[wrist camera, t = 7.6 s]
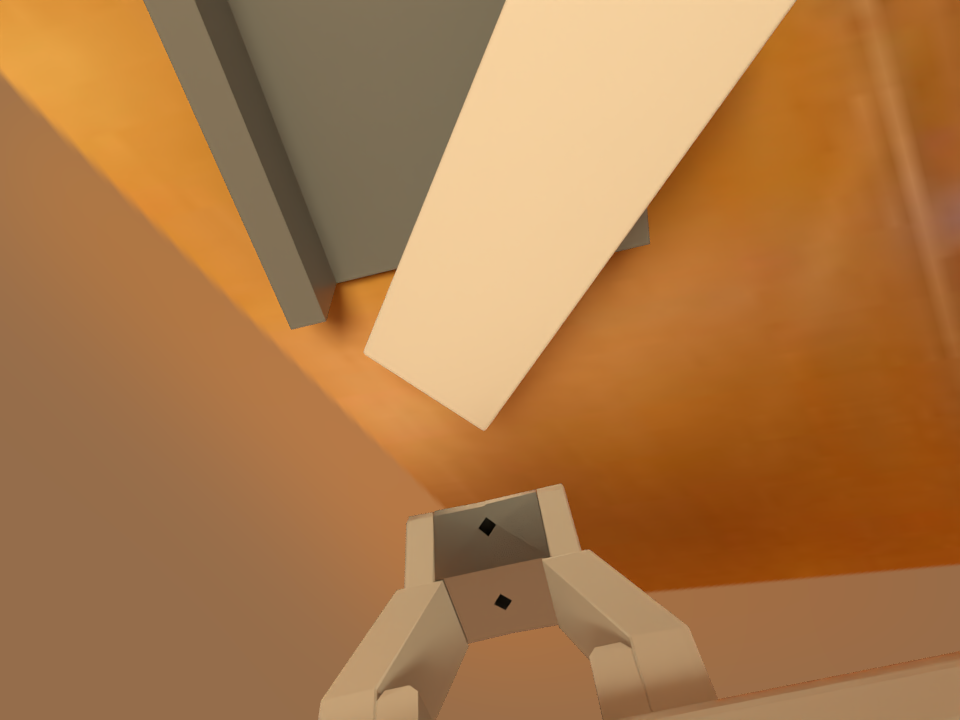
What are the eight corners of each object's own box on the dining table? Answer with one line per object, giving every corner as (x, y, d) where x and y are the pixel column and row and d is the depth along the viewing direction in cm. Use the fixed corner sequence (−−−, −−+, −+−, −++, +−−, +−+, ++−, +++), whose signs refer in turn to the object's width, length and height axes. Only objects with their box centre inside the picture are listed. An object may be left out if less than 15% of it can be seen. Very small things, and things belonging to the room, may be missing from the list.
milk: (360, 355, 25) (689, -489, 10) (426, 283, 30) (724, -382, 15) (486, 435, 25) (1010, -297, 10) (534, 351, 30) (948, -248, 14)
